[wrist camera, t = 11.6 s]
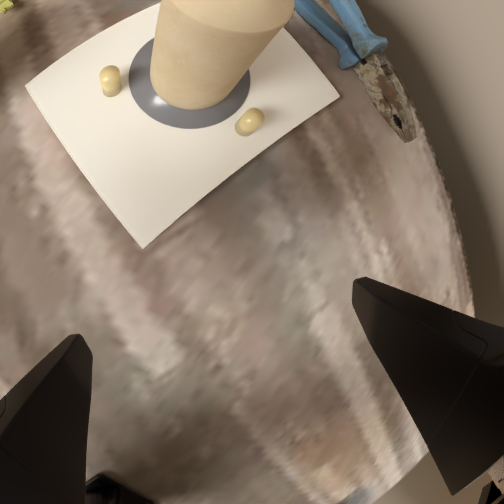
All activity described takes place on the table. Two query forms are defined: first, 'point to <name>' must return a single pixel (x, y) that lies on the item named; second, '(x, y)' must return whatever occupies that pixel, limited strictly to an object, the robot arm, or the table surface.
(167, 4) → the candle
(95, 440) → the table surface
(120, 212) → the stud tile
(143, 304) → the table surface
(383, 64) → the pliers
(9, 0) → the key
